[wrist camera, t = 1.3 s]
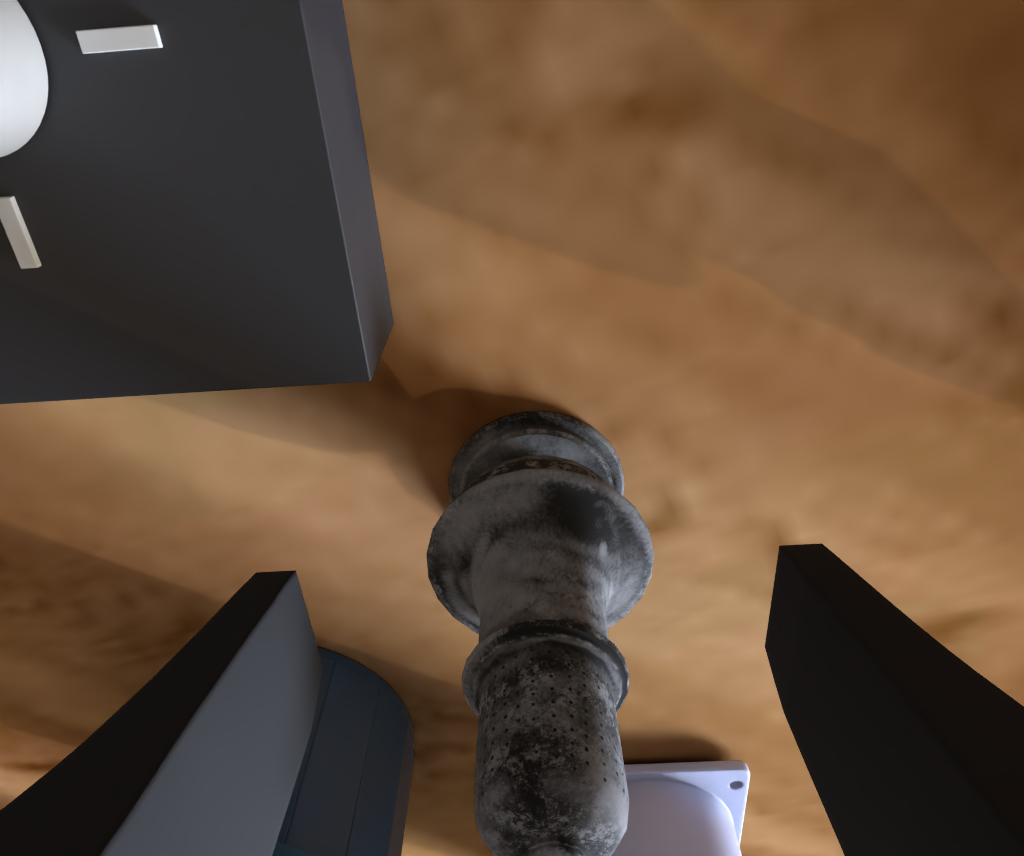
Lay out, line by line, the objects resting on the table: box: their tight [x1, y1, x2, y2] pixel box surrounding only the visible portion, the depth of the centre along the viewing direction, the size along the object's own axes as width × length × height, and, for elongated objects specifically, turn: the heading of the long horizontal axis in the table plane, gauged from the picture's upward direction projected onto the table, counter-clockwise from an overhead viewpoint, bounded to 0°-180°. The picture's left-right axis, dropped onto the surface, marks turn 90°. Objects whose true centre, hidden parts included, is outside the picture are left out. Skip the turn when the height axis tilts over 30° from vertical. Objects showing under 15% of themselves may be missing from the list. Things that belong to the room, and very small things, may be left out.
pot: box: [277, 647, 415, 856], centre depth 24 cm, size 10×10×7 cm
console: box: [0, 0, 394, 404], centre depth 15 cm, size 11×13×4 cm
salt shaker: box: [427, 412, 654, 856], centre depth 16 cm, size 6×6×12 cm
